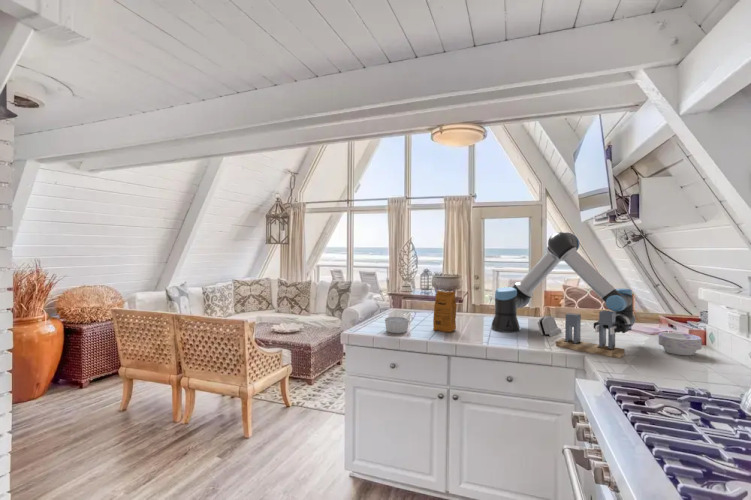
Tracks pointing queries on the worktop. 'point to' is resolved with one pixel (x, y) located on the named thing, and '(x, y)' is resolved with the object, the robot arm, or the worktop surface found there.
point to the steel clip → (604, 320)
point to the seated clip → (575, 322)
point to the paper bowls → (680, 343)
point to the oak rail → (592, 348)
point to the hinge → (548, 326)
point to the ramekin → (396, 324)
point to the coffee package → (445, 312)
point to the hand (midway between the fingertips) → (603, 330)
